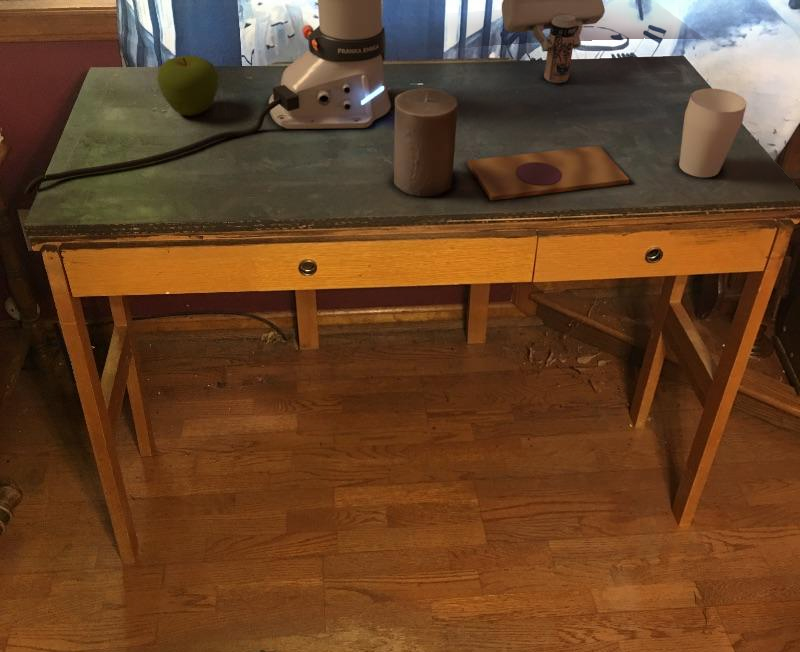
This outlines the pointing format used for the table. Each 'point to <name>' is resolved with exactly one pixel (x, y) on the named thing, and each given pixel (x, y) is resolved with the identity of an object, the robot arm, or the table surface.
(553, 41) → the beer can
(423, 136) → the pillar candle
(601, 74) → the table surface
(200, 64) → the apple
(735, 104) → the cup
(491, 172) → the wooden board
